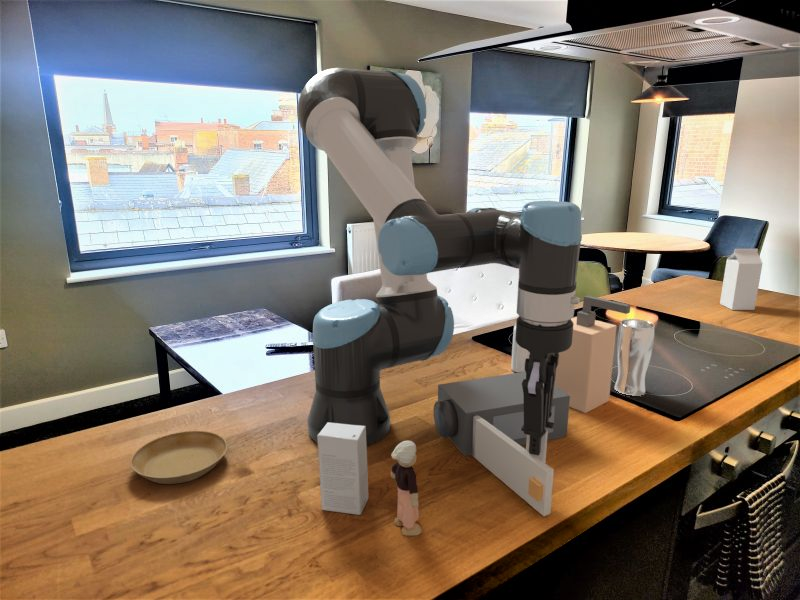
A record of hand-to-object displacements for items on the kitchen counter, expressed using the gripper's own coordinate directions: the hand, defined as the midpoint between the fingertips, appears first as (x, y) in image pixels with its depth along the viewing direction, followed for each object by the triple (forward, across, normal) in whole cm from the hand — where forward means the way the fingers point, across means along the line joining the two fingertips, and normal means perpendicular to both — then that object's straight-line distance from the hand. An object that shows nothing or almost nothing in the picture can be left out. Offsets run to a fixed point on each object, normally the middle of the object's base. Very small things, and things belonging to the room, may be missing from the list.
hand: (534, 469), depth 82 cm
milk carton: (+7, +126, -37) cm, 132 cm away
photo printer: (+6, +48, +11) cm, 49 cm away
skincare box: (+4, -14, +24) cm, 28 cm away
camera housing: (+5, +16, +10) cm, 20 cm away
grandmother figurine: (+4, -14, +14) cm, 21 cm away
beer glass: (+5, +45, -10) cm, 46 cm away
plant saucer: (+4, -17, +54) cm, 57 cm away
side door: (+4, 0, +4) cm, 6 cm away
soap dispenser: (+5, +35, -3) cm, 35 cm away
